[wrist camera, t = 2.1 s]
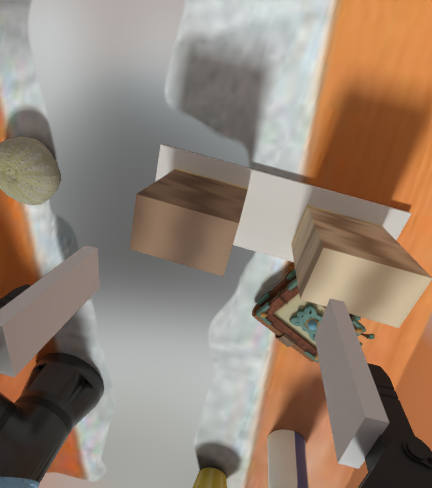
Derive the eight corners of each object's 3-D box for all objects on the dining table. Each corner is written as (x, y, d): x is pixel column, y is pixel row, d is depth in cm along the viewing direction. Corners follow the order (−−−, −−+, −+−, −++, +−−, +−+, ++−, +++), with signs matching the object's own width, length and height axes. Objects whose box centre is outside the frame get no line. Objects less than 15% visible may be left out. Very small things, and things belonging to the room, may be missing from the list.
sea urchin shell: (-10, 190, 43) (-43, 157, 36) (27, 153, 46) (4, 115, 39) (46, 220, 43) (25, 193, 36) (79, 181, 46) (66, 149, 39)
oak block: (291, 244, 41) (300, 298, 29) (306, 205, 38) (323, 247, 27) (361, 264, 41) (398, 327, 29) (382, 226, 38) (432, 278, 26)
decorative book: (326, 364, 50) (332, 389, 46) (250, 304, 48) (248, 324, 43) (394, 322, 45) (408, 346, 40) (312, 251, 42) (317, 268, 38)
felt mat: (151, 218, 44) (149, 220, 43) (162, 143, 39) (160, 144, 38) (369, 281, 42) (370, 284, 42) (408, 211, 37) (411, 213, 37)
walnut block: (168, 209, 42) (130, 249, 30) (175, 168, 39) (136, 194, 27) (236, 229, 41) (223, 276, 30) (248, 188, 39) (239, 223, 27)
